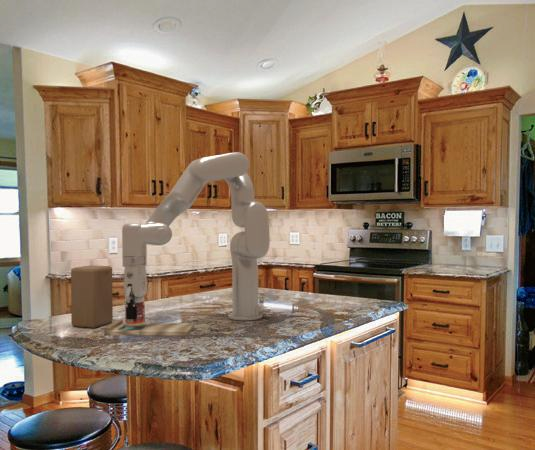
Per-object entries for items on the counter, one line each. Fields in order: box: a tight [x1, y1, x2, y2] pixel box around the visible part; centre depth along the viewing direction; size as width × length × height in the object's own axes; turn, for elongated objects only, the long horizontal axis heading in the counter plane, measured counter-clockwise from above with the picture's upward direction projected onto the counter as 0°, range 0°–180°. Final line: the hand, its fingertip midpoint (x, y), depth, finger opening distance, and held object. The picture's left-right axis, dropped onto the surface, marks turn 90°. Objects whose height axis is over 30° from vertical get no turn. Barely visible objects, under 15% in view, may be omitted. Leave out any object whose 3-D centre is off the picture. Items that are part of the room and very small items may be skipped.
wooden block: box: [70, 265, 114, 329], centre depth 158 cm, size 10×10×20 cm
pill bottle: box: [124, 295, 146, 326], centre depth 148 cm, size 6×6×11 cm
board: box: [103, 319, 196, 337], centre depth 148 cm, size 26×12×2 cm, turn 88°
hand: (135, 316), depth 148 cm, fingers closed on pill bottle, 6 cm apart
